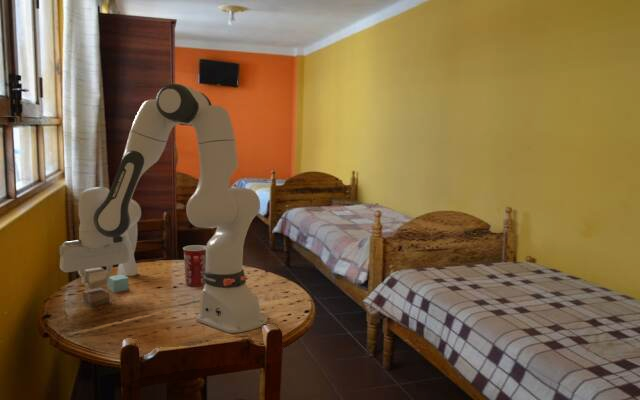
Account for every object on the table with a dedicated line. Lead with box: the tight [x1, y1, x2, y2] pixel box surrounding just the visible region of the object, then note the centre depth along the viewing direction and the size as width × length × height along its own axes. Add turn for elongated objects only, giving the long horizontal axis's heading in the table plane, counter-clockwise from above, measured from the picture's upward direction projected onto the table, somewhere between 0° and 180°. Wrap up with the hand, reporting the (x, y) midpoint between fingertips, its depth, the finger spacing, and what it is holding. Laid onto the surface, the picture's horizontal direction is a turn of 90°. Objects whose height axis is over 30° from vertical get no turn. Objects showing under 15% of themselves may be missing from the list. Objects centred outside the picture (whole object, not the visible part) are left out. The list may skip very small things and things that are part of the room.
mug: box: [182, 244, 206, 287], centre depth 180 cm, size 13×9×14 cm
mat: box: [80, 299, 112, 307], centre depth 160 cm, size 12×10×1 cm
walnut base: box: [82, 287, 111, 306], centre depth 160 cm, size 6×6×3 cm
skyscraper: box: [116, 222, 139, 277], centre depth 188 cm, size 8×8×28 cm
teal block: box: [107, 274, 130, 294], centre depth 171 cm, size 5×5×5 cm
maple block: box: [83, 267, 108, 290], centre depth 159 cm, size 5×5×5 cm
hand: (95, 280), depth 159 cm, fingers closed on maple block, 5 cm apart
